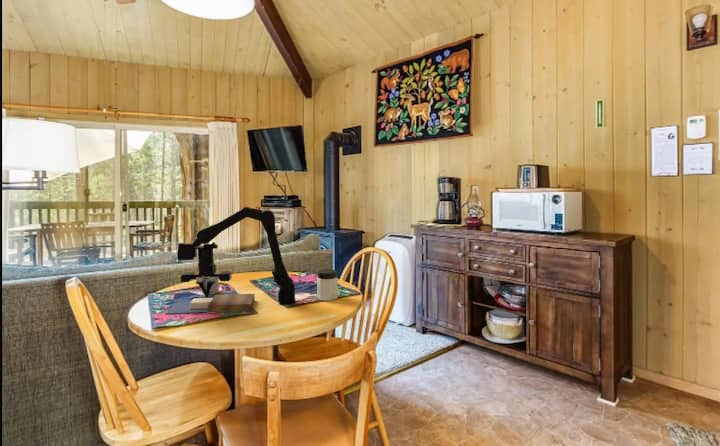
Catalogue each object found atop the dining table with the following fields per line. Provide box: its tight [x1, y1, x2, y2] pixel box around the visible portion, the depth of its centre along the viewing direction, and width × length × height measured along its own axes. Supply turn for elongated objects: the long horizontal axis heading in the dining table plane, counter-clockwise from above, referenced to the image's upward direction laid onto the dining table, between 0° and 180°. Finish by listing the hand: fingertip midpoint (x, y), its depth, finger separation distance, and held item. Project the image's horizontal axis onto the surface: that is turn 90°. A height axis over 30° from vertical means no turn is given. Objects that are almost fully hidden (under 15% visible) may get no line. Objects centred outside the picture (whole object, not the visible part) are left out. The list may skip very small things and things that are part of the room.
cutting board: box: [208, 293, 256, 313], centre depth 173 cm, size 16×14×3 cm
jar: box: [316, 268, 338, 302], centre depth 184 cm, size 9×8×12 cm
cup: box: [201, 270, 220, 295], centre depth 193 cm, size 7×10×9 cm
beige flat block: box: [189, 297, 214, 309], centre depth 172 cm, size 8×6×2 cm
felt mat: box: [165, 301, 208, 315], centre depth 171 cm, size 16×14×1 cm
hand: (207, 297), depth 171 cm, fingers closed
